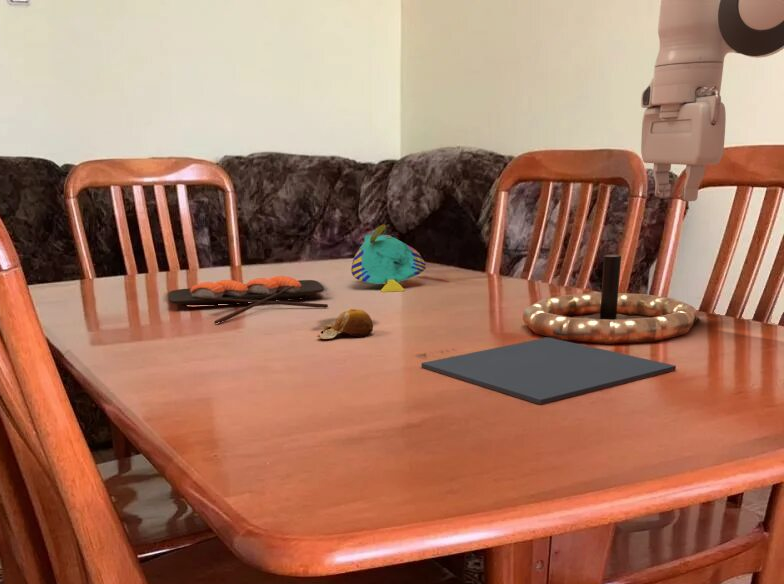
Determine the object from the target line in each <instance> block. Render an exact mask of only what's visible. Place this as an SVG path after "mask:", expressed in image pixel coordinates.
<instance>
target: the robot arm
mask: <svg viewBox="0 0 784 584" xmlns="http://www.w3.org/2000/svg"><path fill="white" fill-rule="evenodd" d="M658 14H659V15H658V24H657V34H658V40H659V45H658V46H659V47H658V54H657V56H656V59H655V62H654V69H653V77H652V78H651V80H650V82H649V84H648V86H647V87H646V88H645V89H644V90H642V93H641V97H640V98H641V99H640V107H641V108H642V109H645V110H644V112H643V115H642V121H641V141H640V142H641V143H640V144H641V145H640V152H641V158H642V162H643V163H645V164H653V167H652V168H653V169H652V173H653V179H654V186H655V188H654V197H656V198H668V197H669V196H670V195H671V189H672V184H671V183H670V172H671V170H672V169H671V168H672V165H679V166H680V165H681V166H682V165H683V166H685V174H686V177H685V181H684V185H683V186H682V187H681V190H680V200H681V201H682V202H696V200H698V196H699V195H698V194H699V187H700V185H701V183H702V181H703V180H704V176H705V174H706V167H707V166H713V165H719V163H720V162H721V160H722V158H723V155H724V150H725V137H726V123H727V122H726V121H727V120H726V117H727V116H726V115H727V114H726V107H725V106H726V105H725V104H724V102H722V96H721V88H722V81H723V73H724V64H725V58H726V56H727V54H730V53H731V54H733V53H734V54H739V55H743V56H745V57H750V58H755V59H757V58H760V59H761V58H766V57H767V58H768V57H770V56H773V55H775V54H777V53H779V52H781V51H782V50H784V0H660V6H659V13H658Z"/></svg>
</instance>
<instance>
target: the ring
mask: <svg viewBox="0 0 784 584" xmlns="http://www.w3.org/2000/svg"><path fill="white" fill-rule="evenodd" d="M601 293H602V292H592V293H591V292H590V293H571V294H564V295H560V296H559V295H558V296H554V297H553V296H552V297H548V298H542V299H540V300H538V301H536V302H535V303H532V304H530V305H529V306H527V307H526V308H525V309H524V311H523V313H522V321H523V323H524V324H525V325H526V326H527V327H528V328H529V329H530V330H531V331H533V333H535V334H536V335H538V336H542V337H543V336H544V337H546V338H547V337H549V338H553V339H558V340H562V341H567V342H574V343H592V344H608V345H612V344H615V345H616V344H631V343H650V342H657V341H661V340H666V339H670V338H675V337H680V336H683V335H685V334H687V333H688V332H689V331H690V329H692V327H693V325H694V324H695V323H696V321H697V319H698V311H697V309H696V308H695V307H694V306H692V305H690V304H688V303H686V302H684V301H681V300H680V299H676V298H673V297H667V296H660V295H652V294H648V293H647V294H646V293H628V292H627V293H625V292H618V303H617V314H621V315H628V316H631V315H632V316H644V317H638V318H636V319H617V320H607V319H587V318H578V317H570V316H579V315H580V316H581V315H582V316H583V315H593V314H599V313H600V307H601ZM648 316H649V317H648Z"/></svg>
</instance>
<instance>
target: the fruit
mask: <svg viewBox="0 0 784 584" xmlns="http://www.w3.org/2000/svg"><path fill="white" fill-rule="evenodd" d="M373 328H374V323H373V320H372V318H371V316H370V314H369V313H367V311H365V310H363V309H357V308H350V309H349V310H345V311H343V312H341V313H339V315H338V316H337V318H336V320H335V322H334V323H330V324H327V325H324V326H323V328H322V329H321V331H323V333H321V335H320V334H317V336H316V337H317V338H319V339H321V340H327V339H329V340H331V339H334V338H335V337H336V336H337V335H338V334H341V333H346V334H348V335H350V336H353V337H357V338H364V337H366V336H369V335H370V334H371V333H372V331H373V330H374V329H373ZM321 336H322V337H328V338H322V337H321ZM363 336H364V337H363Z"/></svg>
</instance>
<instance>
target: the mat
mask: <svg viewBox="0 0 784 584" xmlns="http://www.w3.org/2000/svg"><path fill="white" fill-rule="evenodd" d="M676 368H677V365H675V364H670V363H665V362H661V361H657V360H652V359H648V358H643V357H638V356H634V355H629V354H625V353H621V352H616V351H612V350H608V349H603V348H597V347H594V346H589V345H585V344H580V343H577V342H572V341H565V340H561V339H556V338H552V337H547V336H546V337H543V338H538V339H537V338H536V339H533V340H528V341H523V342H518V343H514V344H509V345H503V346H499V347H494V348H489V349H484V350H478V351H474V352H469V353H464V354H459V355H454V356H450V357H449V356H448V357H445V358H439V359H435V360H429V361H425V362H421V369H426V370H429V371H432V372H435V373H438V374H441V375H444V376H448V377H451V378H454V379H458V380H461V381H464V382H467V383H470V384H473V385H476V386H479V387H483V388H486V389H489V390H491V391H496V392H499V393H502V394H505V395H508V396H512V397H514V398H517V399H521V400H524V401H527V402H531V403H533V404H536V405H539V406H541V405H545V404H548V403H549V404H550V403H553V402H557V401H560V400H564V399H568V398H573V397H577V396H580V395H584V394H588V393H592V392H596V391H599V390H604V389H609V388H611V387H612V388H613V387H616V386H619V385H623V384H627V383H632V382H635V381H639V380H643V379H646V378H651V377H655V376H658V375H663V374H667V373H671V372H673V371H676Z"/></svg>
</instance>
